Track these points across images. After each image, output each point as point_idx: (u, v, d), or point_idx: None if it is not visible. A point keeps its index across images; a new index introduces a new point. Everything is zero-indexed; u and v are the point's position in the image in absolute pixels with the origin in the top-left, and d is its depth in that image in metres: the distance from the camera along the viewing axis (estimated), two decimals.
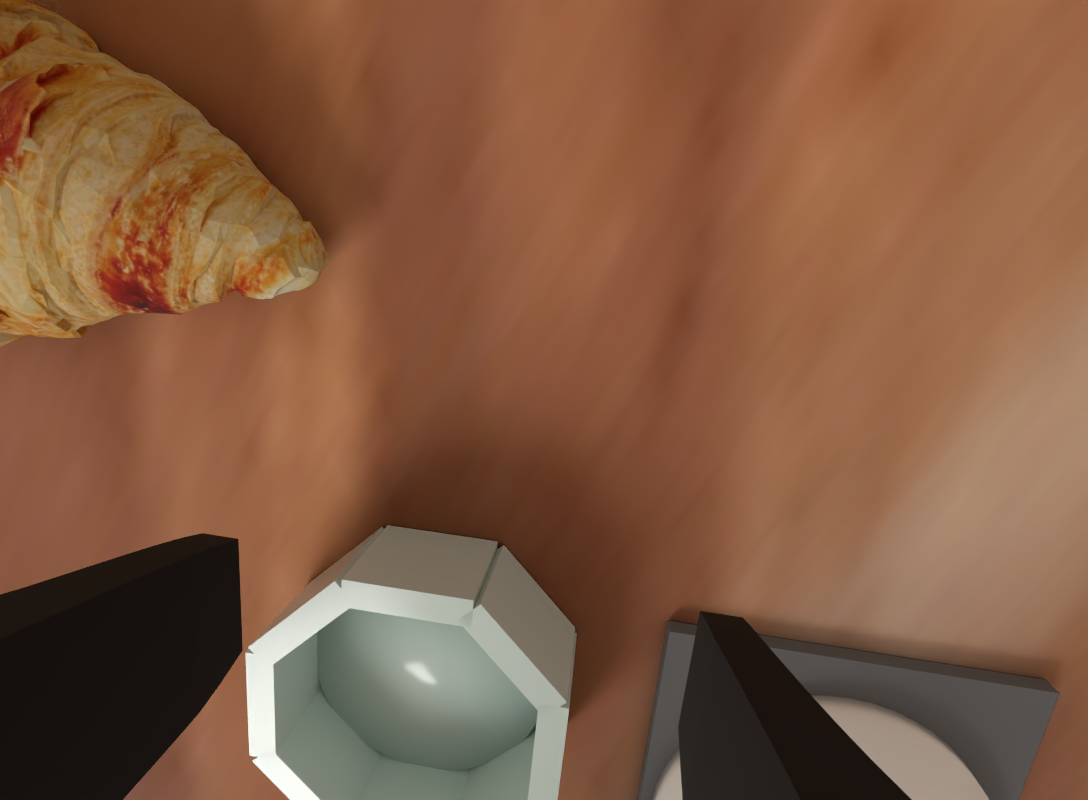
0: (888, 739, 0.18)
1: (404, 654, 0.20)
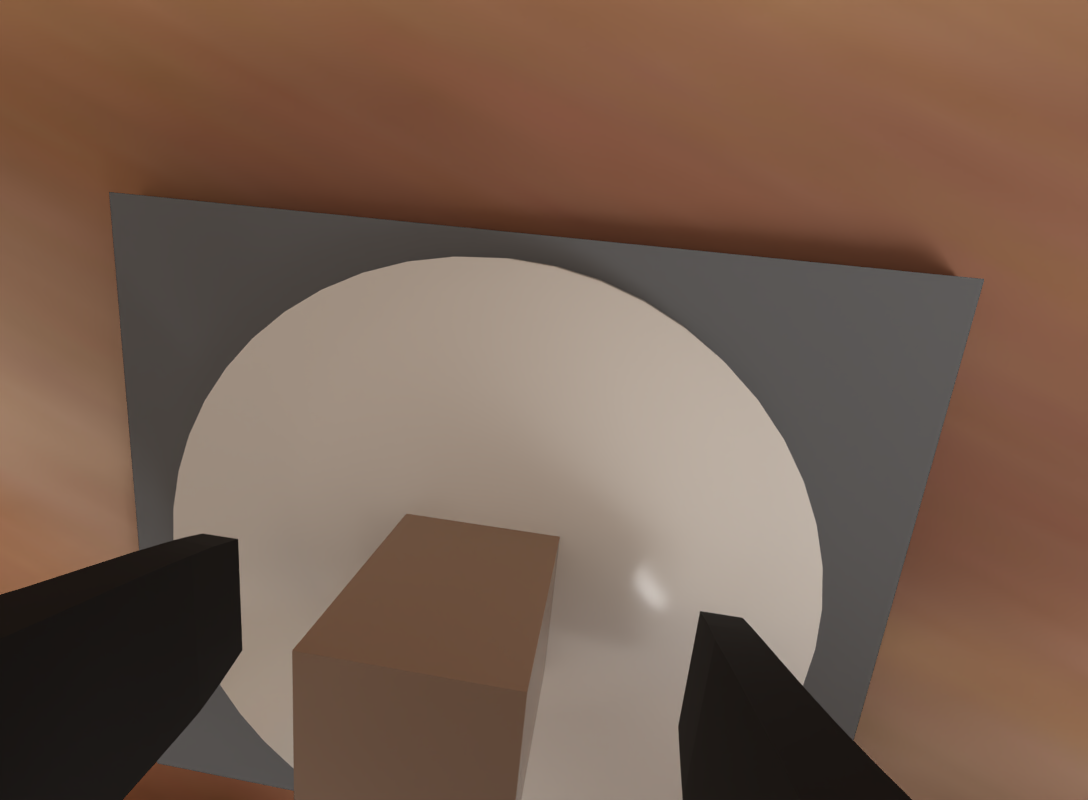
0: (204, 496, 0.10)
1: None
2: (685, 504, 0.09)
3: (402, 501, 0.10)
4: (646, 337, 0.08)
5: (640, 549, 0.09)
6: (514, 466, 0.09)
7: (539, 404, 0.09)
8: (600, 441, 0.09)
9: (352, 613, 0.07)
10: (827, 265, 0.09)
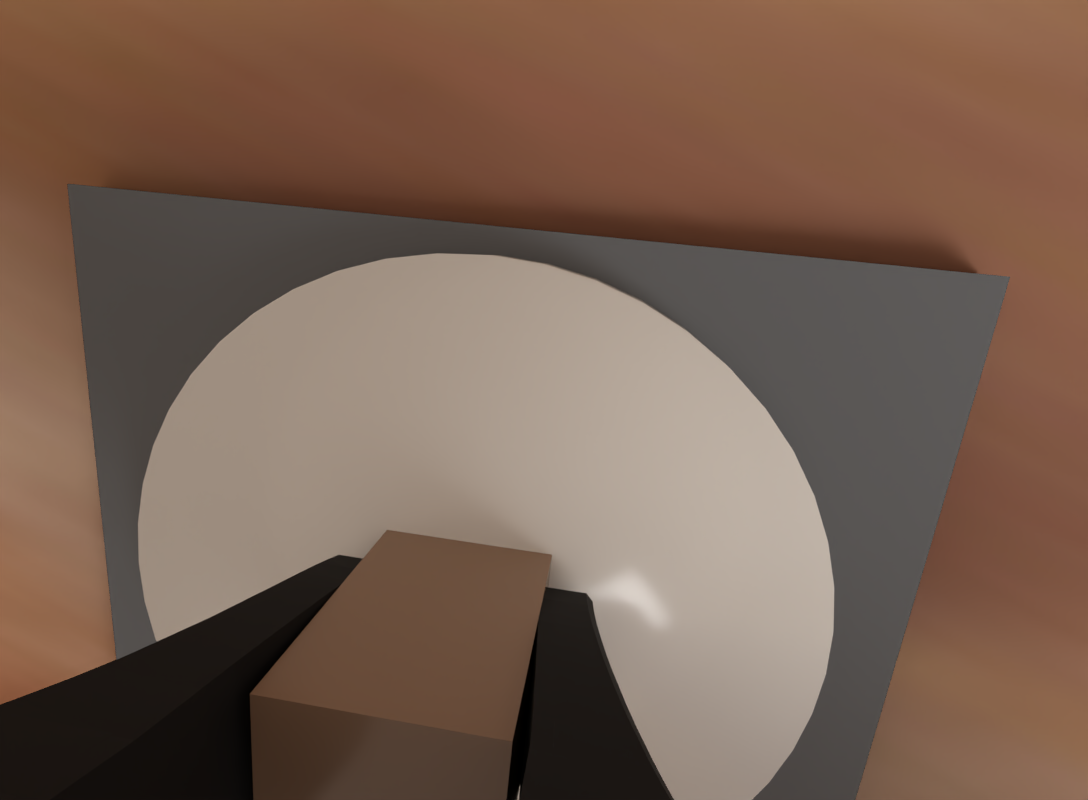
0: (170, 510, 0.09)
1: None
2: (686, 520, 0.08)
3: (382, 517, 0.09)
4: (645, 341, 0.08)
5: (638, 568, 0.09)
6: (502, 479, 0.09)
7: (529, 413, 0.08)
8: (595, 453, 0.08)
9: (320, 647, 0.06)
10: (840, 262, 0.08)
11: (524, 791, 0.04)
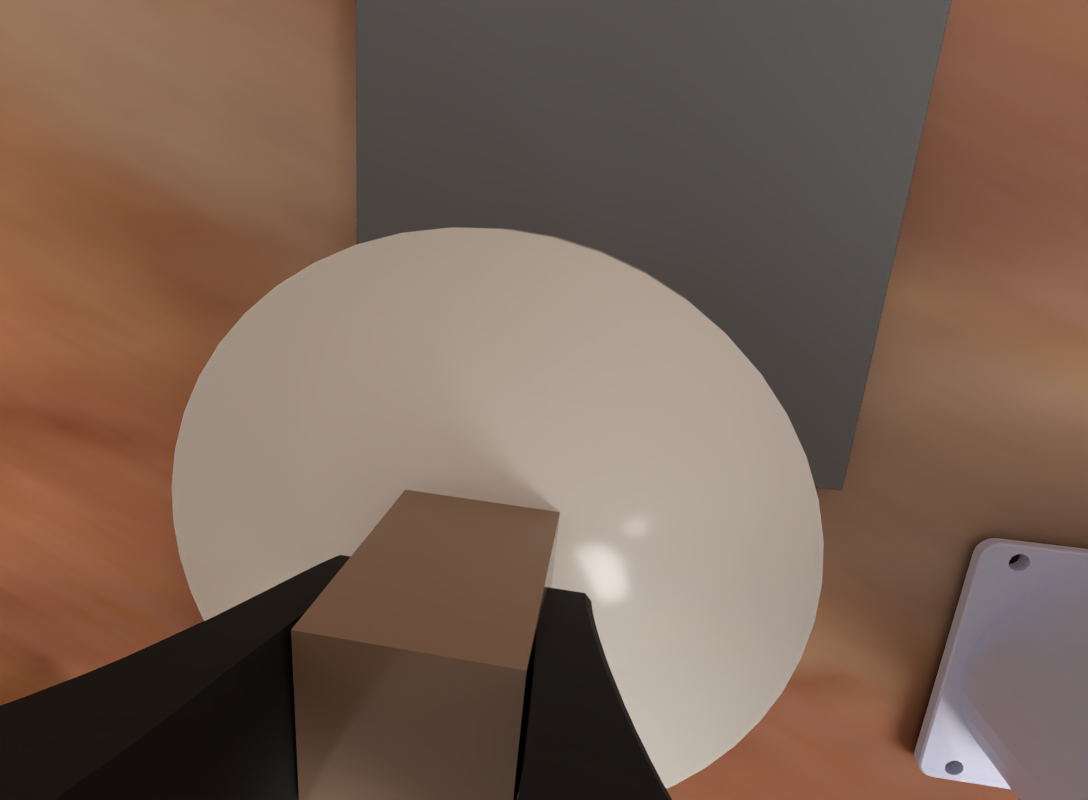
0: (202, 472, 0.10)
1: None
2: (686, 480, 0.09)
3: (401, 477, 0.10)
4: (648, 310, 0.08)
5: (641, 525, 0.09)
6: (513, 442, 0.09)
7: (538, 379, 0.09)
8: (600, 417, 0.09)
9: (351, 591, 0.07)
10: None
11: (521, 791, 0.04)
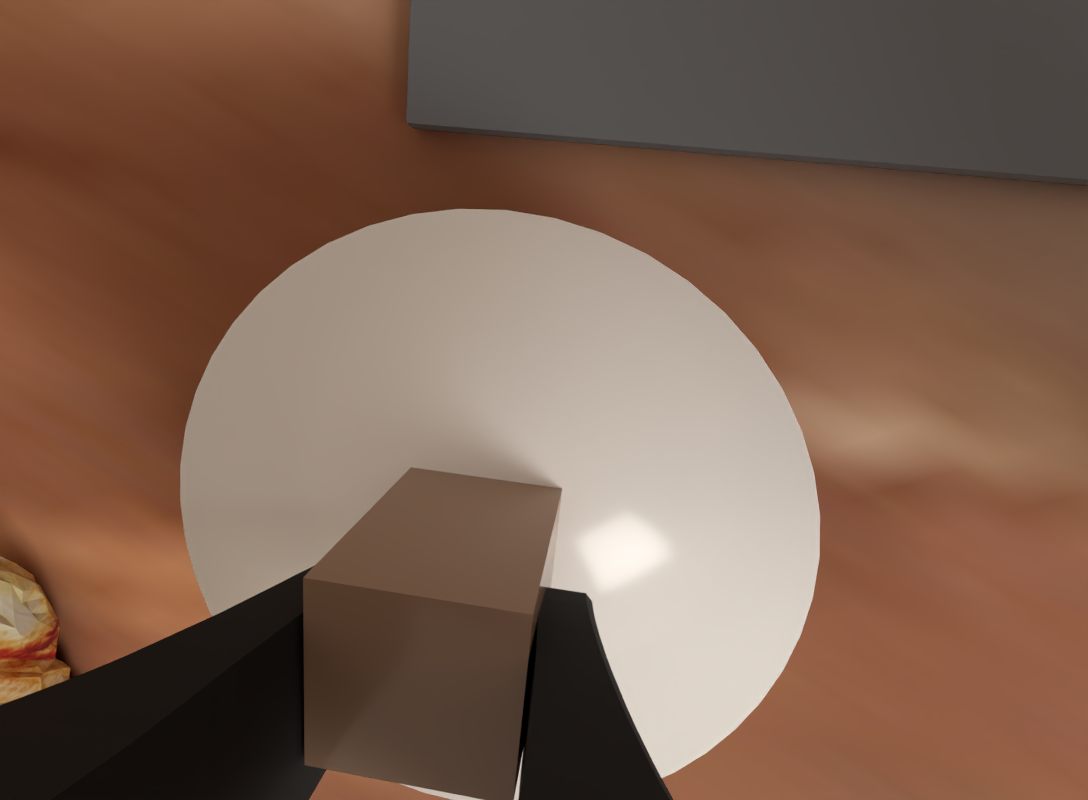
0: (211, 452, 0.10)
1: None
2: (685, 454, 0.09)
3: (407, 455, 0.10)
4: (647, 287, 0.09)
5: (641, 500, 0.09)
6: (517, 418, 0.09)
7: (542, 356, 0.09)
8: (602, 392, 0.09)
9: (360, 548, 0.07)
10: None
11: (523, 791, 0.04)
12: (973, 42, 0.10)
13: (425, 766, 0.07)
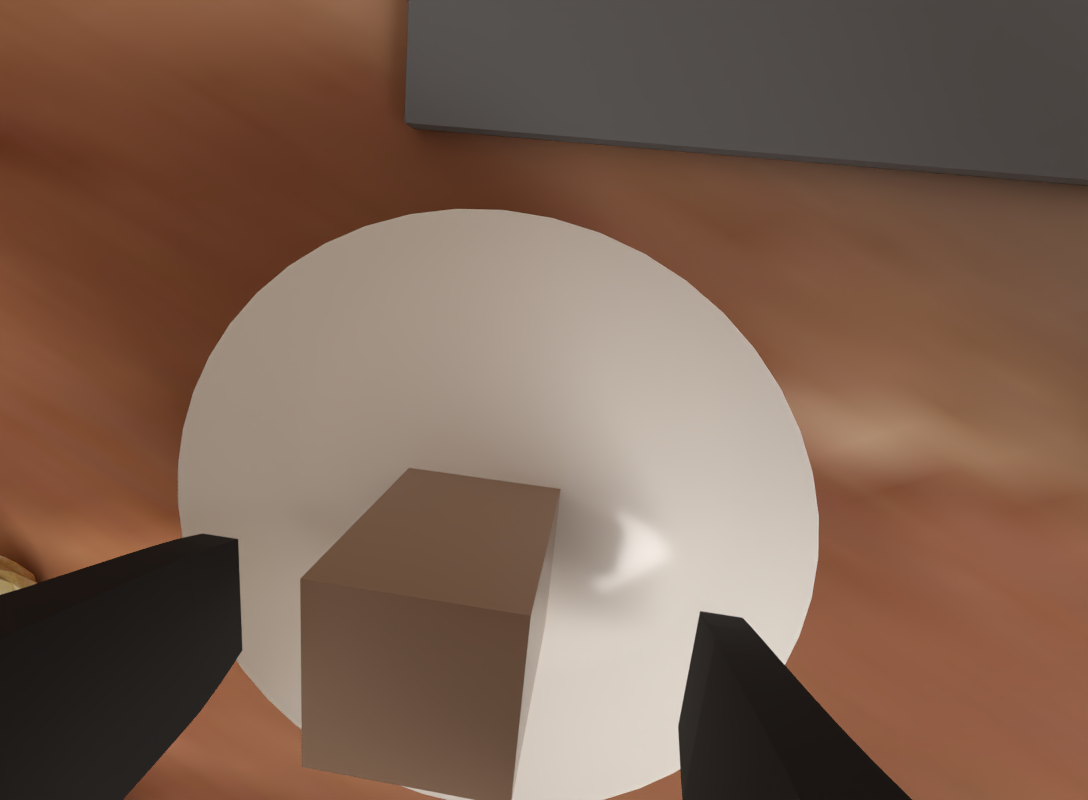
0: (208, 452, 0.10)
1: None
2: (684, 455, 0.09)
3: (405, 455, 0.10)
4: (645, 287, 0.09)
5: (639, 501, 0.09)
6: (515, 419, 0.09)
7: (540, 356, 0.09)
8: (600, 392, 0.09)
9: (358, 549, 0.07)
10: None
11: None
12: (972, 42, 0.10)
13: (423, 767, 0.07)
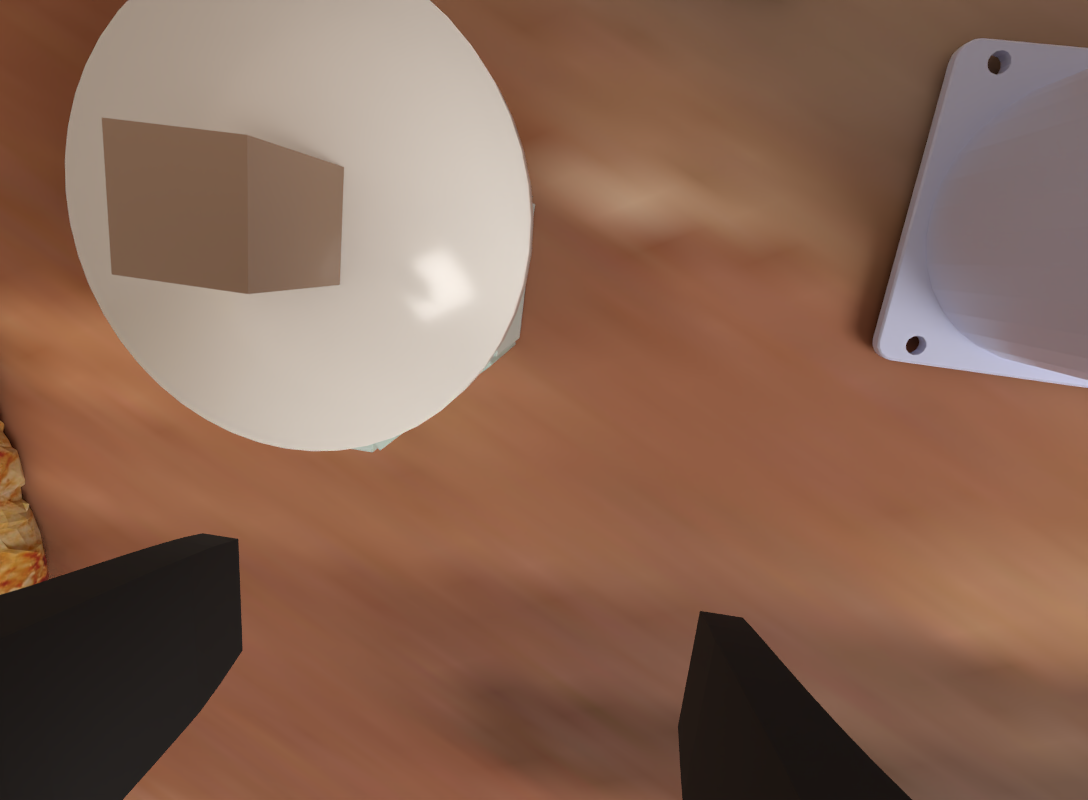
0: (87, 146, 0.13)
1: None
2: (428, 134, 0.12)
3: None
4: None
5: (400, 174, 0.13)
6: (308, 109, 0.13)
7: (323, 56, 0.12)
8: (367, 85, 0.12)
9: None
10: None
11: None
12: None
13: (189, 266, 0.10)
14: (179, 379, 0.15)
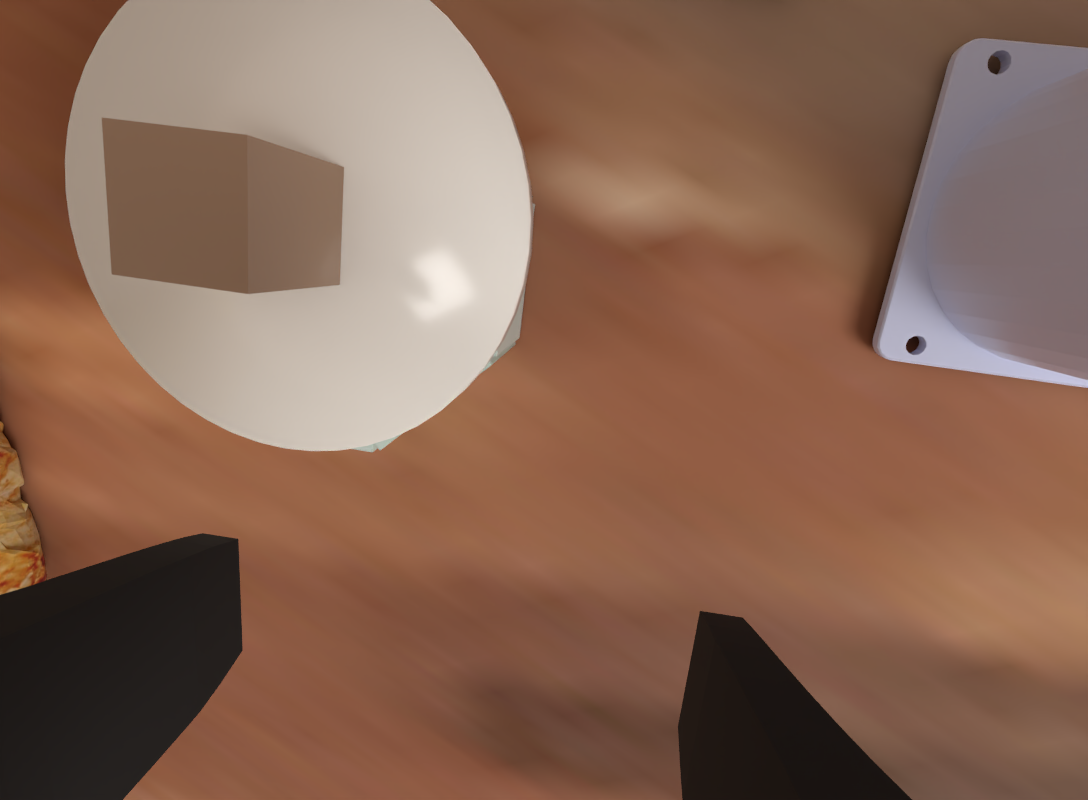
0: (87, 146, 0.13)
1: None
2: (428, 134, 0.12)
3: None
4: None
5: (400, 174, 0.13)
6: (308, 109, 0.13)
7: (323, 56, 0.12)
8: (367, 85, 0.12)
9: None
10: None
11: None
12: None
13: (189, 266, 0.10)
14: (179, 379, 0.15)
